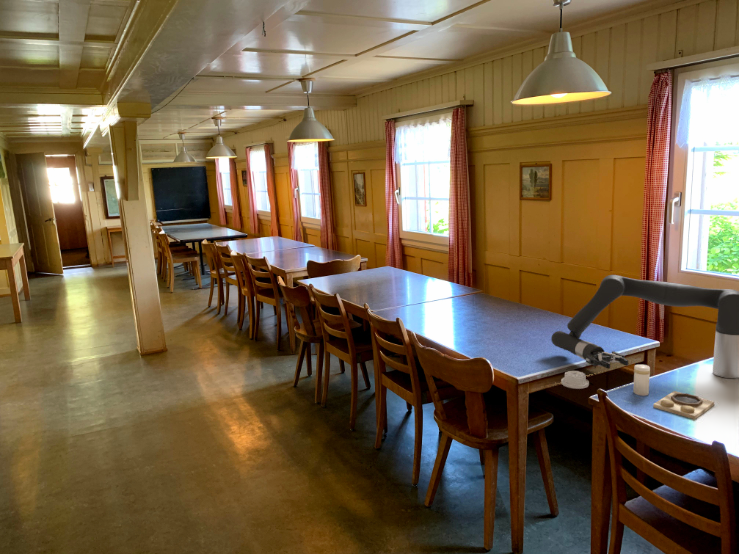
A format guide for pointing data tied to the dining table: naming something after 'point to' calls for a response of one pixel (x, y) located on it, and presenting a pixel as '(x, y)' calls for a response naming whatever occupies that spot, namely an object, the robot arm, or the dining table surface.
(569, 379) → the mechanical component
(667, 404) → the board
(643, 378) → the cylinder
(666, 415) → the dining table surface
